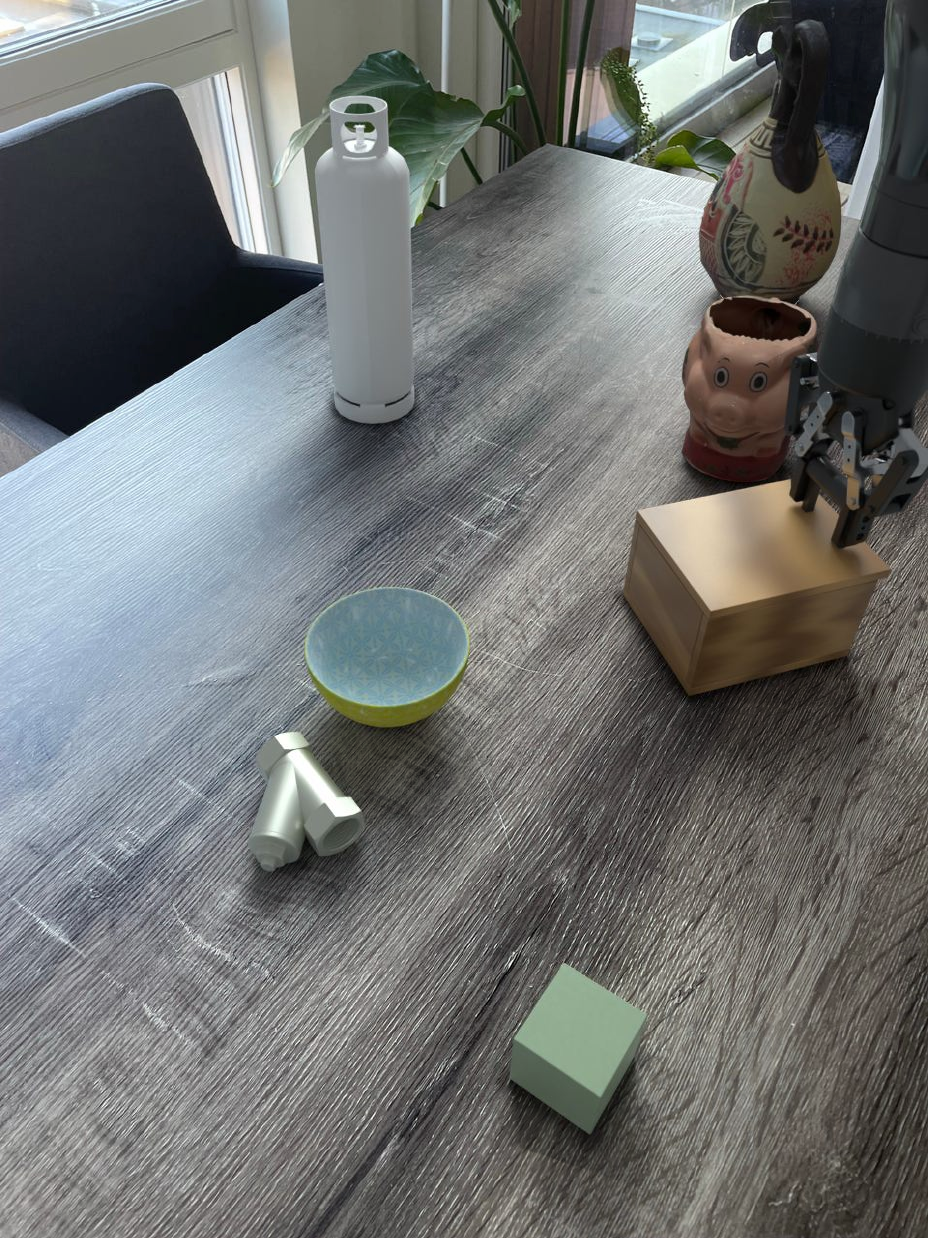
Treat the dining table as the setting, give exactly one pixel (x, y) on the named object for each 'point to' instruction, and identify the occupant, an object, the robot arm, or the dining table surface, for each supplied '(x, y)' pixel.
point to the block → (576, 1047)
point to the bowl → (387, 655)
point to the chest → (736, 626)
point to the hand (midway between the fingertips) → (823, 519)
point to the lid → (761, 544)
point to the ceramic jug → (778, 188)
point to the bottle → (367, 265)
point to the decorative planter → (743, 385)
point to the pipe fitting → (299, 805)
